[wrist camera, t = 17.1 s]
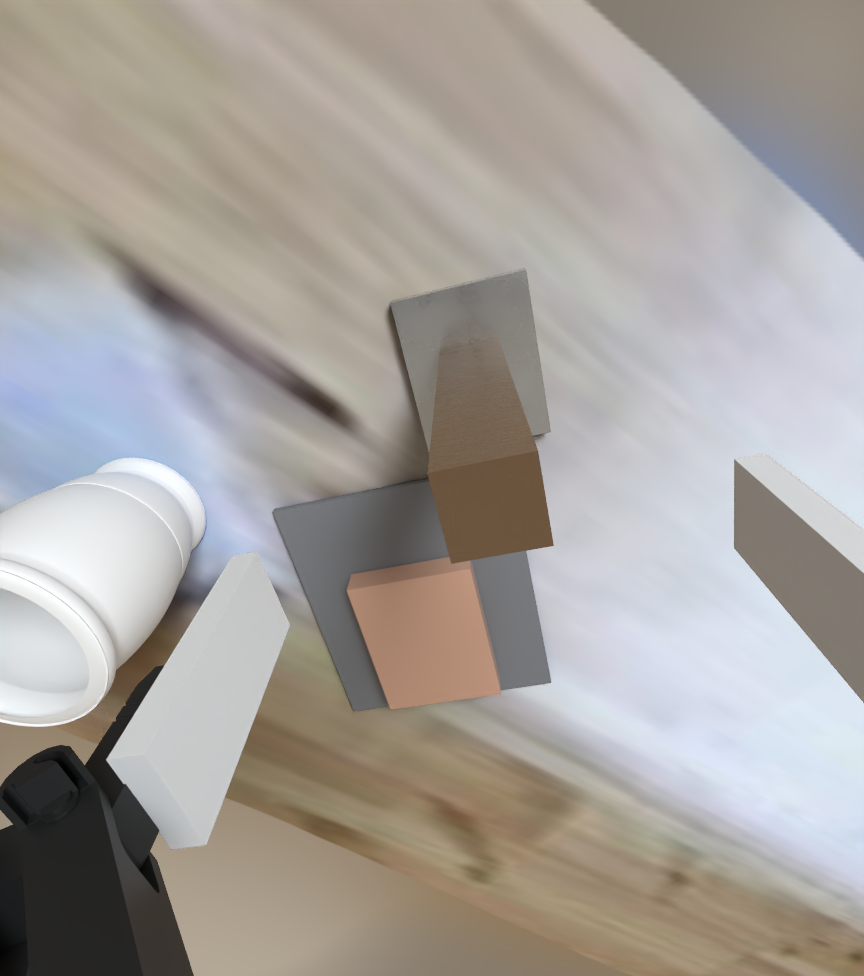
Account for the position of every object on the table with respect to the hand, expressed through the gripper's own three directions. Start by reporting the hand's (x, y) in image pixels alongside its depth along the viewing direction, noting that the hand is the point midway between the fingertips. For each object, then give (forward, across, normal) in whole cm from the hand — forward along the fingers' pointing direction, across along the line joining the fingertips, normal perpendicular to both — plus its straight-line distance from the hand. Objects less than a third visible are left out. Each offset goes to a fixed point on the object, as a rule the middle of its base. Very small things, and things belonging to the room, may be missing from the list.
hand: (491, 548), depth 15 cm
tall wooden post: (+22, 0, -1) cm, 22 cm away
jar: (+22, -25, -6) cm, 34 cm away
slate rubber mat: (+22, -7, -18) cm, 29 cm away
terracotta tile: (+20, -7, -14) cm, 25 cm away
